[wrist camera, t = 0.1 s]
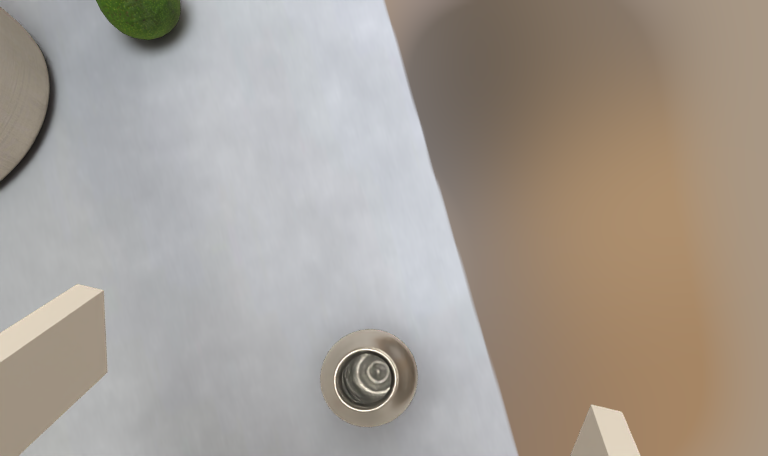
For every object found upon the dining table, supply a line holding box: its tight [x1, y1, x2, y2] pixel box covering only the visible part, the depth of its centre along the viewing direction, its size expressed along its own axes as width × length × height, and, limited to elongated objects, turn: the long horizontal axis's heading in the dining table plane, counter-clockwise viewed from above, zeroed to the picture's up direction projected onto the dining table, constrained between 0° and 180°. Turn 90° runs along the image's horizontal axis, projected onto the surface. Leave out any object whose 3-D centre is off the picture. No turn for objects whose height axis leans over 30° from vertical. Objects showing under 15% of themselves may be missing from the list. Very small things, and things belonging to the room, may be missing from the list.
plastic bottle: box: [320, 329, 418, 427], centre depth 38 cm, size 6×7×20 cm
